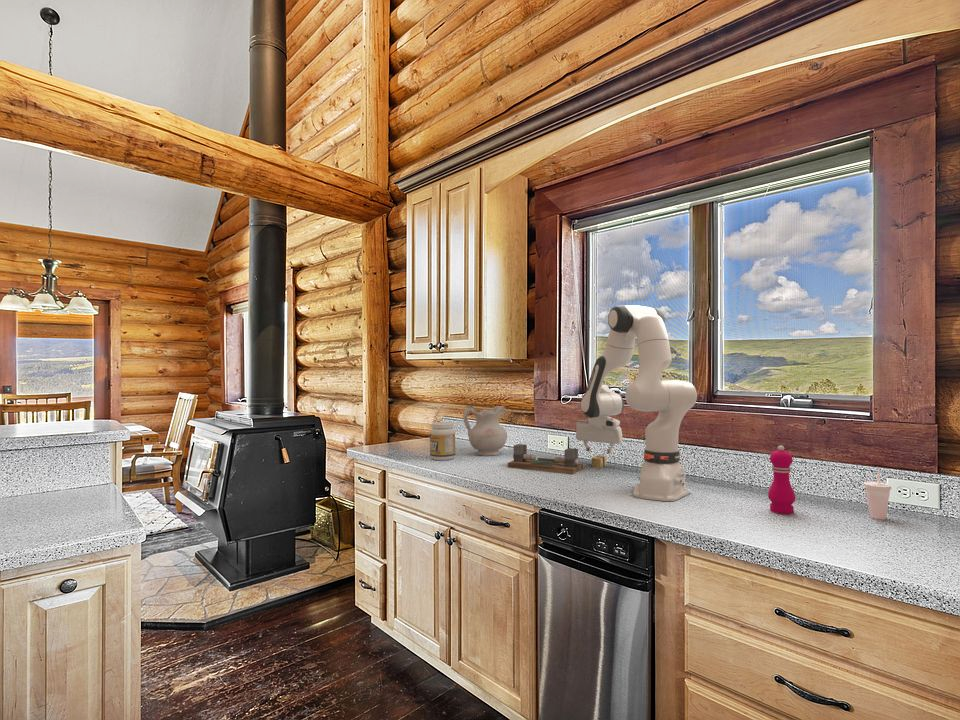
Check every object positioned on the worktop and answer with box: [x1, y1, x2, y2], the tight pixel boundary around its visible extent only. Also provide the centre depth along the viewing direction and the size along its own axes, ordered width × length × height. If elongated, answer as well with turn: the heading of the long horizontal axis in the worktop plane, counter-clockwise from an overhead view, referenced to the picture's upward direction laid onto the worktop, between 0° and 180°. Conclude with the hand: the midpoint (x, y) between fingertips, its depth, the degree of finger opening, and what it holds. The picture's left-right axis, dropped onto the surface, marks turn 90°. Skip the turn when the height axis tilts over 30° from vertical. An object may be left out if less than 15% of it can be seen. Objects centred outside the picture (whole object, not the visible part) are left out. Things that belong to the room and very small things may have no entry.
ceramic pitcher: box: [462, 404, 508, 457], centre depth 260 cm, size 22×20×25 cm
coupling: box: [591, 454, 607, 469], centre depth 228 cm, size 4×8×4 cm, turn 149°
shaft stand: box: [507, 443, 584, 475], centre depth 225 cm, size 12×30×9 cm, turn 59°
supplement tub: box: [429, 421, 456, 461], centre depth 250 cm, size 12×12×17 cm
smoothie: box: [863, 468, 892, 521], centre depth 151 cm, size 6×6×14 cm
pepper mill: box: [767, 445, 796, 515], centre depth 158 cm, size 7×7×20 cm
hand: (598, 452), depth 229 cm, fingers open, 8 cm apart
